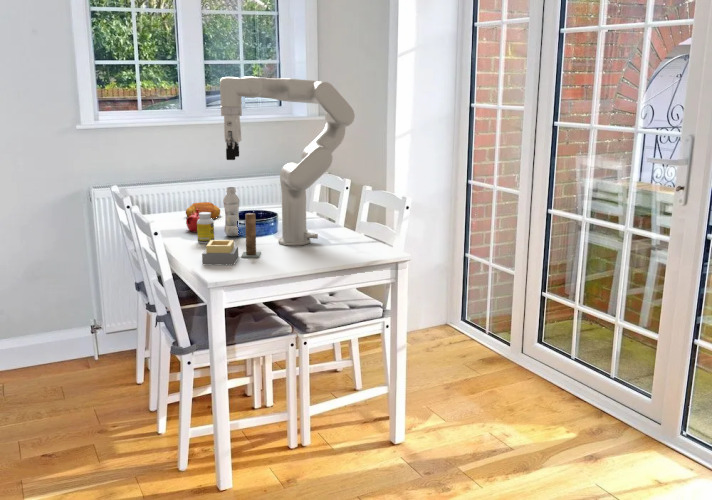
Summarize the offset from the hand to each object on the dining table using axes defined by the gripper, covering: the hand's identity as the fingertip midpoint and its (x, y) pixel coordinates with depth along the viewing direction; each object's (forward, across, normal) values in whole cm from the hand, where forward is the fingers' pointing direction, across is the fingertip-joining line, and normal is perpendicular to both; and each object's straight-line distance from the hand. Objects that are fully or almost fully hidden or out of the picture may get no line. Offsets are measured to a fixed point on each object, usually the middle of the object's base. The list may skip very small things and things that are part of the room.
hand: (232, 158), depth 264 cm
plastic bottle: (+34, +18, +4) cm, 39 cm away
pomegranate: (+35, +28, +20) cm, 49 cm away
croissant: (+35, +54, +23) cm, 68 cm away
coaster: (+34, -12, -8) cm, 37 cm away
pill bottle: (+34, +8, +13) cm, 38 cm away
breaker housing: (+34, -20, +2) cm, 40 cm away
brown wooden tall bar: (+34, -12, -8) cm, 37 cm away
